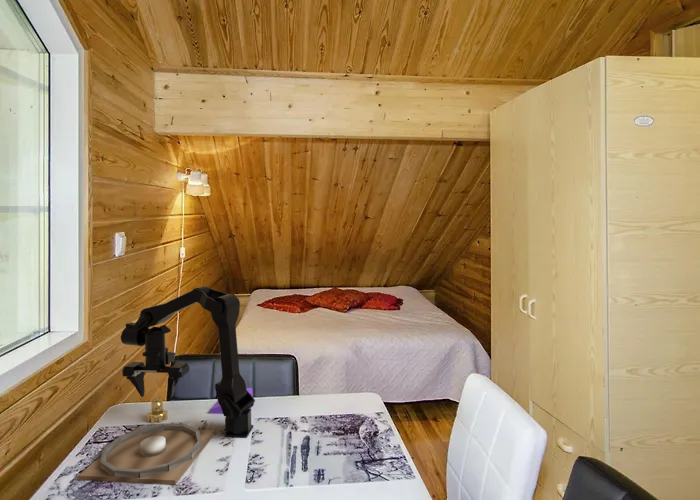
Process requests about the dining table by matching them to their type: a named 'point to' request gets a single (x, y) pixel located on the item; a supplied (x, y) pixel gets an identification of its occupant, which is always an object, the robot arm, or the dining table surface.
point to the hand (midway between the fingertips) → (157, 396)
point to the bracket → (217, 408)
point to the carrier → (149, 455)
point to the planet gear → (157, 411)
